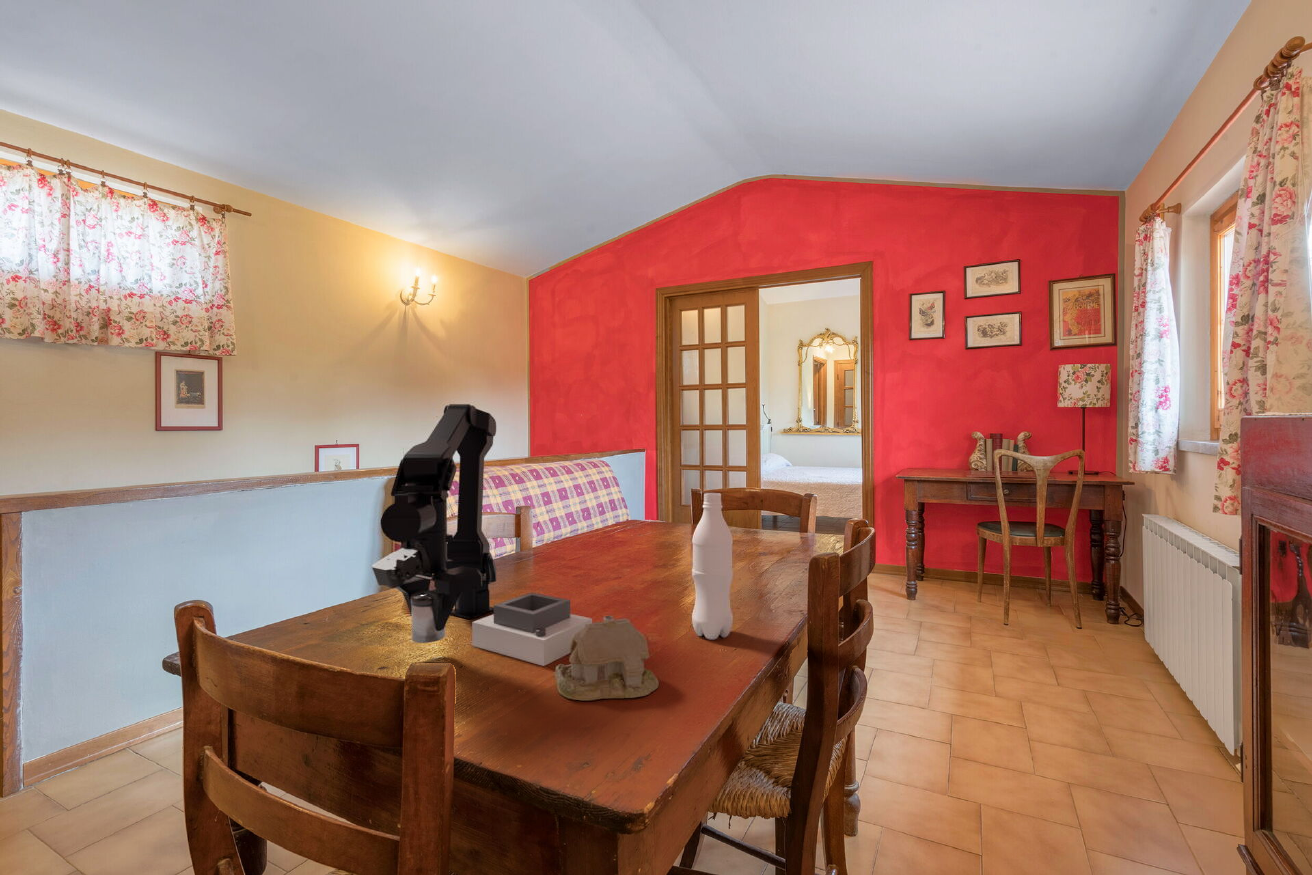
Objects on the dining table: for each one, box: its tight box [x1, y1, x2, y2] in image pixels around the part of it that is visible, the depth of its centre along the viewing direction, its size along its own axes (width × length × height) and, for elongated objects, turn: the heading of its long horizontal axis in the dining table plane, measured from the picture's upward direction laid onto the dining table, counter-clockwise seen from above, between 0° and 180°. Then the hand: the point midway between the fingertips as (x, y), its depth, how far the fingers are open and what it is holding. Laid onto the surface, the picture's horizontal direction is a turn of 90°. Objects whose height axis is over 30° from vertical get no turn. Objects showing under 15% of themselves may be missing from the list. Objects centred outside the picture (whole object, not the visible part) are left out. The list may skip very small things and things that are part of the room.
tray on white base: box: [471, 592, 593, 667], centre depth 100 cm, size 16×12×7 cm
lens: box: [411, 588, 446, 644], centre depth 94 cm, size 5×5×7 cm
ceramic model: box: [554, 614, 660, 701], centre depth 84 cm, size 14×11×10 cm
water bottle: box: [691, 492, 734, 641], centre depth 104 cm, size 7×7×25 cm
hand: (428, 627), depth 94 cm, fingers closed on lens, 5 cm apart
